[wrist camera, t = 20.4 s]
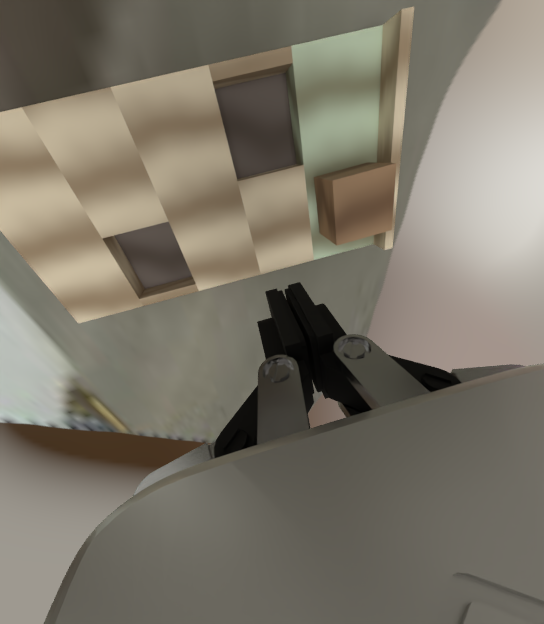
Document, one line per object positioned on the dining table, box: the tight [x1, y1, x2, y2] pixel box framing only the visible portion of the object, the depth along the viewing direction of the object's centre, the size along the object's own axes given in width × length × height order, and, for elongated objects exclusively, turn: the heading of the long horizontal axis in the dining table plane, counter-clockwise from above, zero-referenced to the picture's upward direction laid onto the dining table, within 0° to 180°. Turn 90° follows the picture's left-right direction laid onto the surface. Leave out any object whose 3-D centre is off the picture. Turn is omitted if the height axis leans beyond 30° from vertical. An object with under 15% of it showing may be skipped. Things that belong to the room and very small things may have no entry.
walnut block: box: [314, 162, 396, 246], centre depth 25 cm, size 6×6×5 cm
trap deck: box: [0, 7, 414, 323], centre depth 25 cm, size 19×39×6 cm, turn 102°
